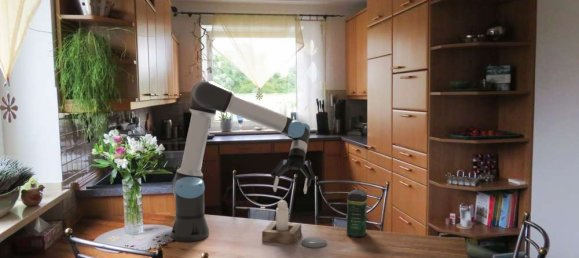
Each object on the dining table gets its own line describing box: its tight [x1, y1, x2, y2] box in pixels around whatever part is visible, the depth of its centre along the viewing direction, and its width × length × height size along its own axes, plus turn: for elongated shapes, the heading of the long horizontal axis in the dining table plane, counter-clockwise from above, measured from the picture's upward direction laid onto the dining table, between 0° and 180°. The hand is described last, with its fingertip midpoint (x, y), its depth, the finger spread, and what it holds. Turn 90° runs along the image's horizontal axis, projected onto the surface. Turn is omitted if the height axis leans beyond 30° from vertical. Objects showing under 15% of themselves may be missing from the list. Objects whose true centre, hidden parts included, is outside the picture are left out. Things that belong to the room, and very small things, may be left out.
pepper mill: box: [275, 199, 290, 231], centre depth 169 cm, size 5×5×16 cm
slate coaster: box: [301, 236, 328, 249], centre depth 163 cm, size 10×10×1 cm
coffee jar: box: [346, 188, 368, 238], centre depth 174 cm, size 10×8×19 cm
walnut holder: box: [261, 221, 302, 245], centre depth 170 cm, size 13×13×4 cm
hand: (289, 191), depth 179 cm, fingers open, 13 cm apart
